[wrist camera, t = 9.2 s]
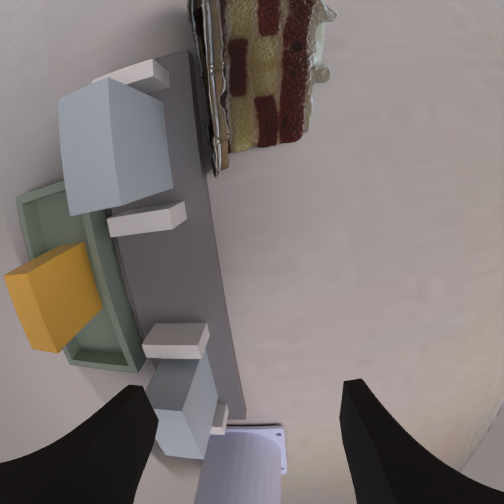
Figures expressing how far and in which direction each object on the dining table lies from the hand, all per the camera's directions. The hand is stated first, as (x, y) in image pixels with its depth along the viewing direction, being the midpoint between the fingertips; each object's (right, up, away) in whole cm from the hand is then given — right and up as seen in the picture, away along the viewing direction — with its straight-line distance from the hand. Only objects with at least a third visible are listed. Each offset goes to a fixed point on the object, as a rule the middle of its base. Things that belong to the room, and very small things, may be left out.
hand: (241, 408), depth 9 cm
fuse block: (-5, +4, +9) cm, 11 cm away
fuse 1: (-6, +11, +6) cm, 14 cm away
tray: (-12, +4, +10) cm, 16 cm away
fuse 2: (-4, -3, +10) cm, 11 cm away
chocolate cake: (+1, +16, +5) cm, 17 cm away
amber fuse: (-12, +4, +9) cm, 16 cm away
